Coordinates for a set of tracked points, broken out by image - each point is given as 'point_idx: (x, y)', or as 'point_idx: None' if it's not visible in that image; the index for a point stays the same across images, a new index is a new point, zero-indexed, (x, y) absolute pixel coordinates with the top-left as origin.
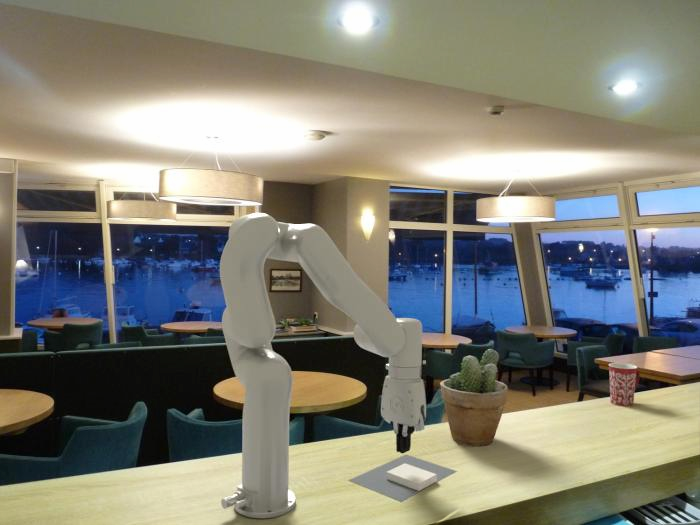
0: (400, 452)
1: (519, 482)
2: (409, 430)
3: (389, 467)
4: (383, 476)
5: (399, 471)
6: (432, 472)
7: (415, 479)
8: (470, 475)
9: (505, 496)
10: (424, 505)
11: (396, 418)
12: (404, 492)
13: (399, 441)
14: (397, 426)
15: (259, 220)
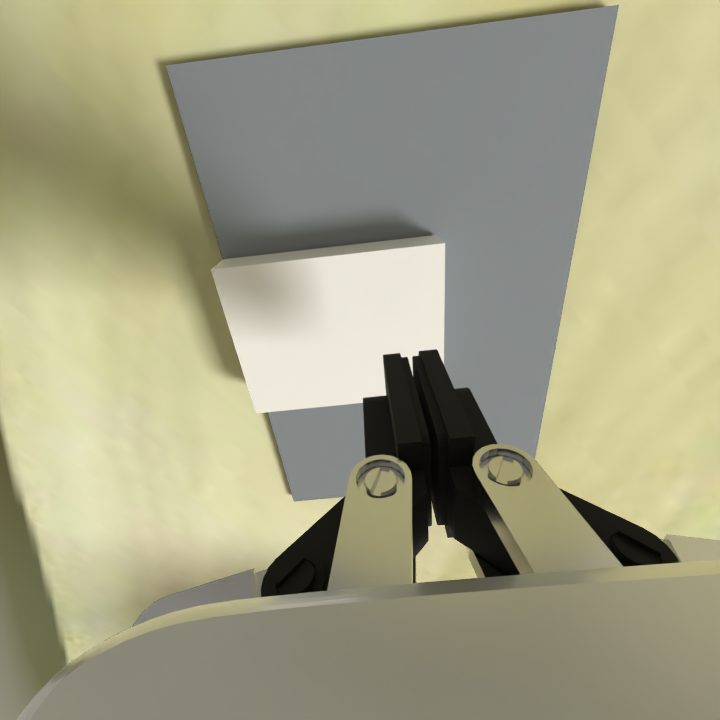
0: (398, 353)
1: (132, 562)
2: (327, 546)
3: (511, 348)
4: (470, 248)
5: (395, 304)
6: (340, 439)
7: (264, 296)
8: (251, 510)
9: (57, 479)
10: (100, 173)
11: (545, 686)
12: (256, 188)
13: (427, 404)
14: (509, 529)
15: None
